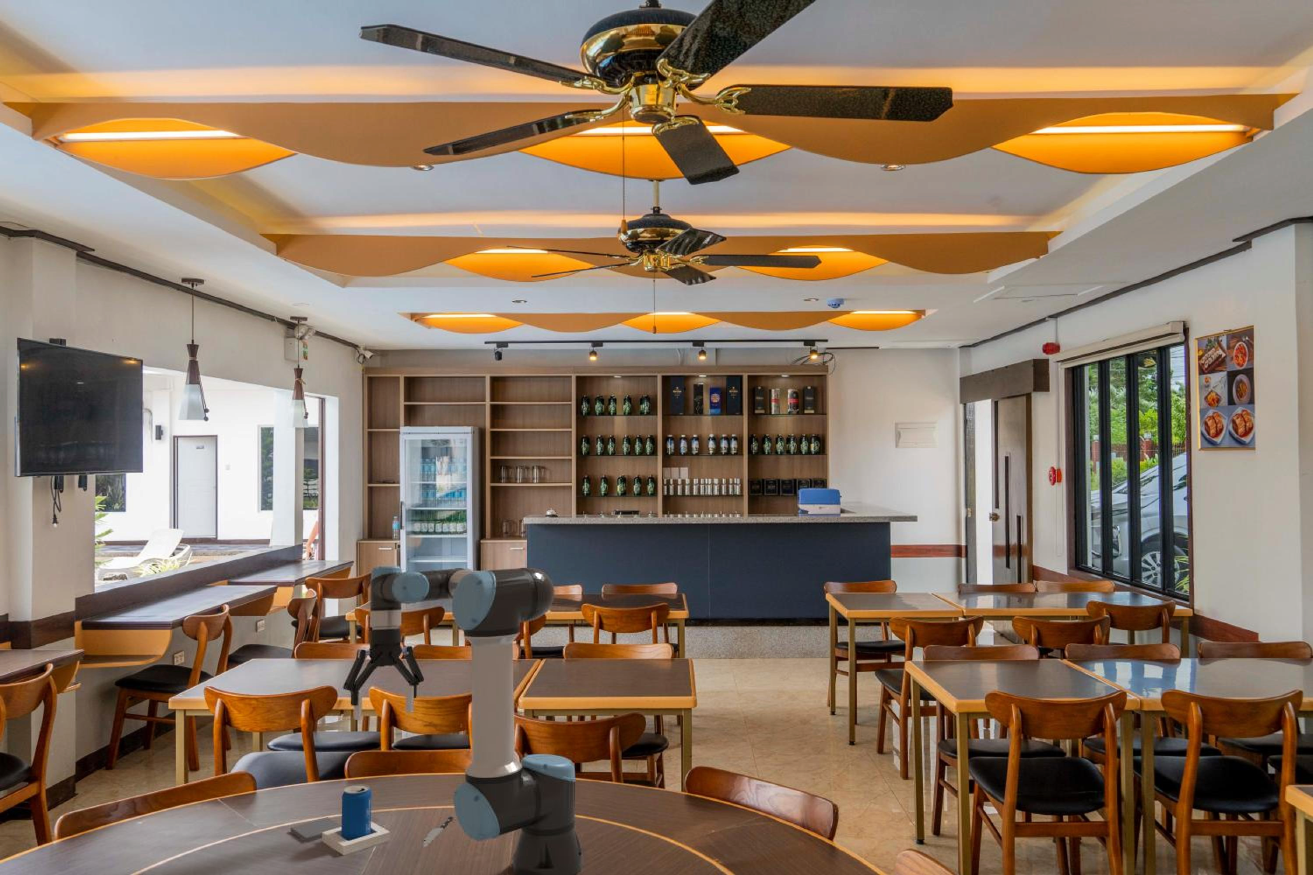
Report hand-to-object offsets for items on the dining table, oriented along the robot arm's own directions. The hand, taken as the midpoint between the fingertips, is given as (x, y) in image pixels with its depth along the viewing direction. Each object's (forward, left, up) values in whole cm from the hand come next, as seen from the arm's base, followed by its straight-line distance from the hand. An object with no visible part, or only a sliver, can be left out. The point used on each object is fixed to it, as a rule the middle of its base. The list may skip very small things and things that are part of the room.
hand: (384, 715), depth 210 cm
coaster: (+7, +13, -26) cm, 30 cm away
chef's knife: (-14, -6, -27) cm, 31 cm away
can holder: (-5, +9, -26) cm, 28 cm away
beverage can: (-5, +9, -26) cm, 28 cm away
